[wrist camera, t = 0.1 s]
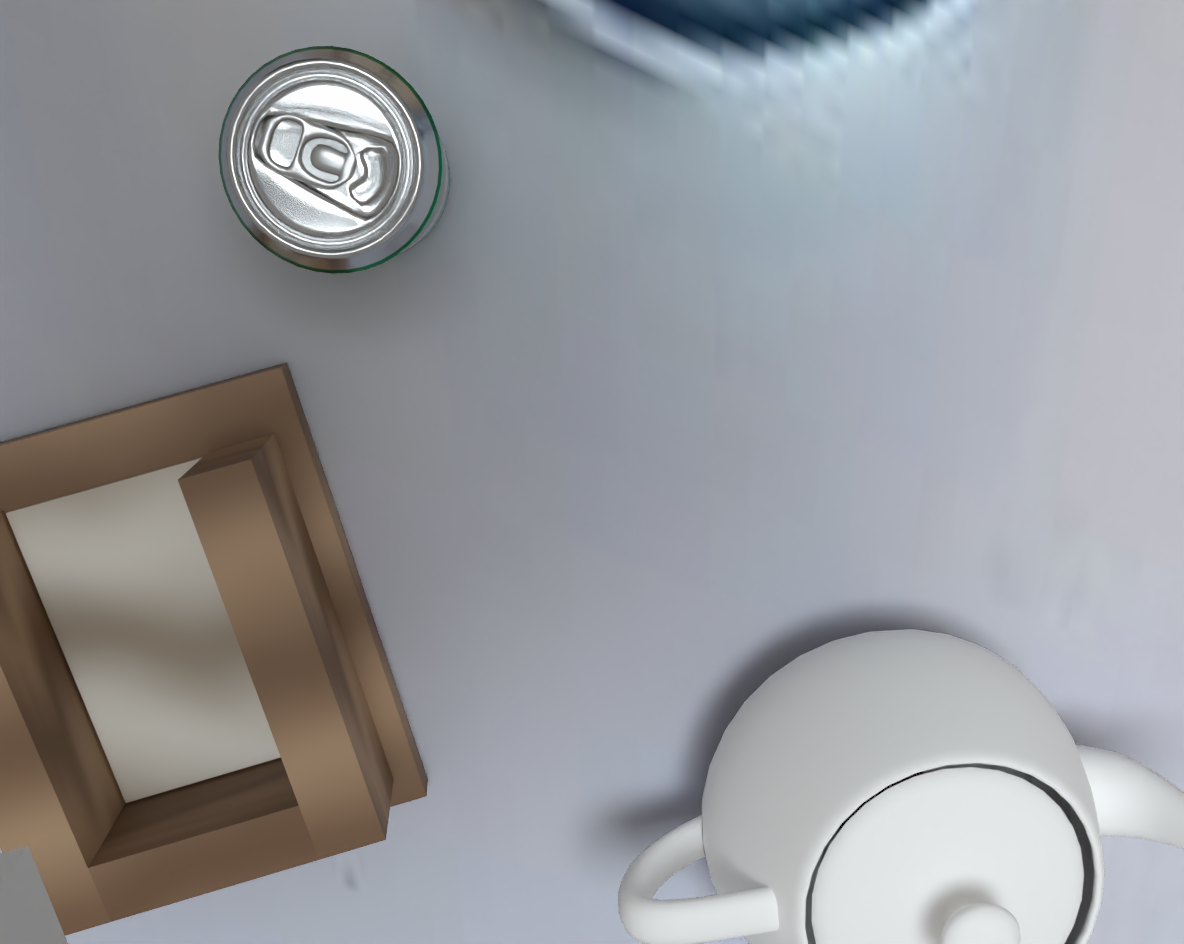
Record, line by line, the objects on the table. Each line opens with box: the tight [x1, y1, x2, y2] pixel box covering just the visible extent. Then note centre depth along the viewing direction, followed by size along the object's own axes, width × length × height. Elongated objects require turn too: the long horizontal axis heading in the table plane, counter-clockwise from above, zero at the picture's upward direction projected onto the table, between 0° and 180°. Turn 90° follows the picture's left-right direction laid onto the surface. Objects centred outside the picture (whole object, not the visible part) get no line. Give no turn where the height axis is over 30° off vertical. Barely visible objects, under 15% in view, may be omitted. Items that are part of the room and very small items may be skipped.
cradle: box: [0, 363, 428, 935], centre depth 37 cm, size 16×13×5 cm
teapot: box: [618, 629, 1184, 944], centre depth 38 cm, size 22×14×11 cm, turn 97°
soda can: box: [219, 46, 450, 273], centre depth 31 cm, size 5×5×12 cm
